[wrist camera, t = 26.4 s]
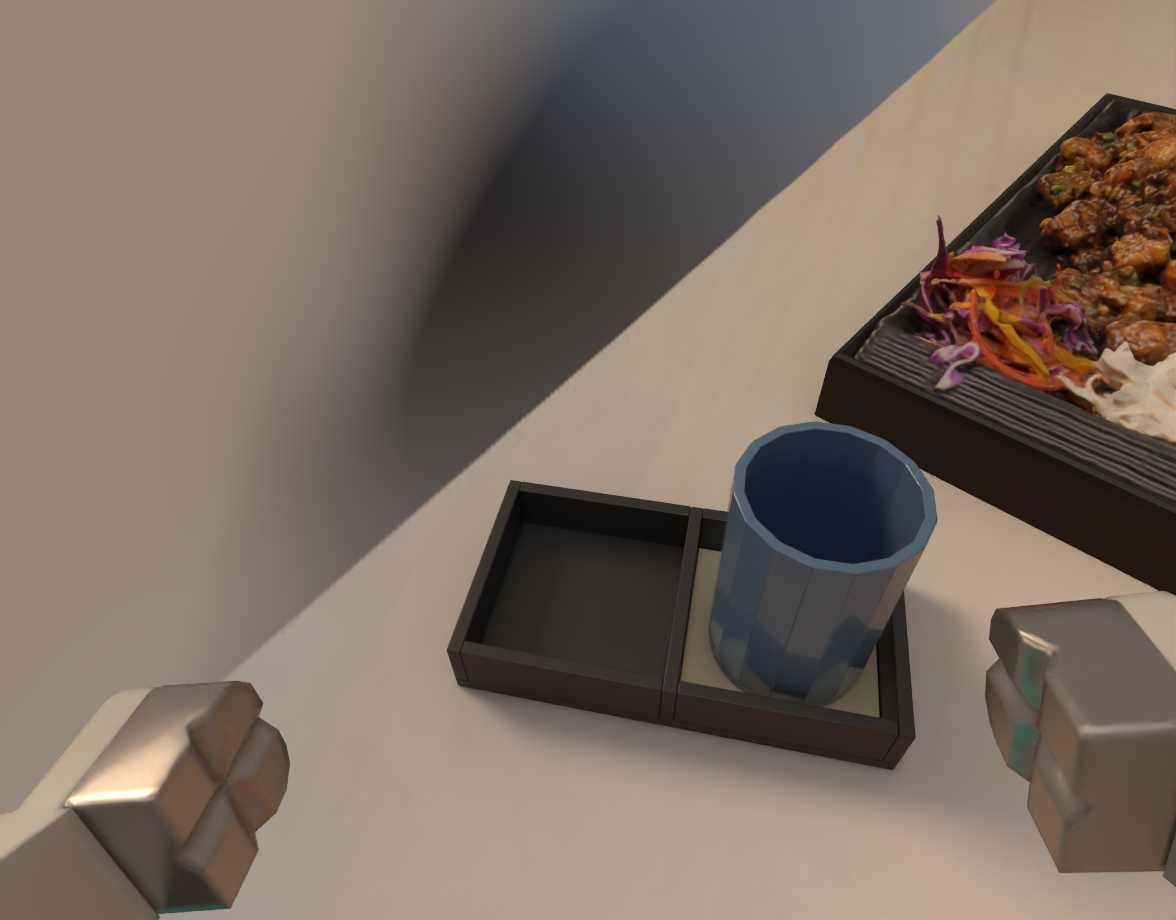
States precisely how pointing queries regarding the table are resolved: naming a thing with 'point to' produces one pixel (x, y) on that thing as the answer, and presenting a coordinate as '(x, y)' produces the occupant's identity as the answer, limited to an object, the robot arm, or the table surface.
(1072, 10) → the table surface
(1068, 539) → the food platter
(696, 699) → the tray
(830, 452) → the blue cup
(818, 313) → the table surface
